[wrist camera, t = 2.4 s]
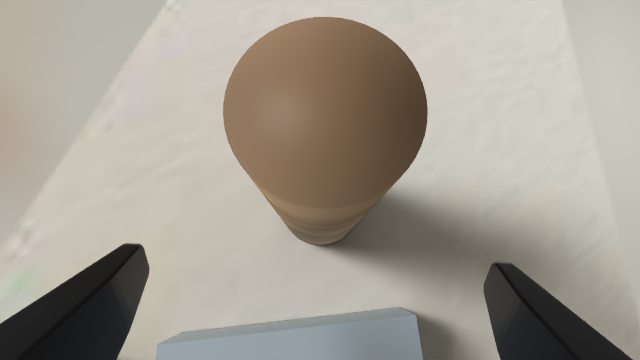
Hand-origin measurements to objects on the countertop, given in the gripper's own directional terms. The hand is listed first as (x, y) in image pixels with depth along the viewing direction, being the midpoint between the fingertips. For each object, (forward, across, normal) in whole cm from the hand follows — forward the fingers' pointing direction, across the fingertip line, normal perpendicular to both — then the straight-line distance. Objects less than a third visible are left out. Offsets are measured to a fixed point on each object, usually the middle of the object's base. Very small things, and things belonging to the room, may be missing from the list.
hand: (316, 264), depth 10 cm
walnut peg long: (+9, 0, +5) cm, 10 cm away
